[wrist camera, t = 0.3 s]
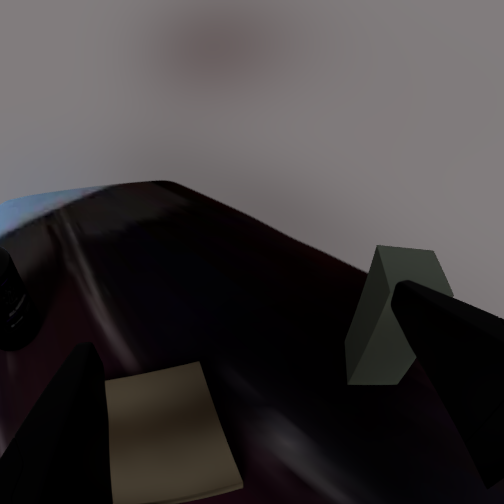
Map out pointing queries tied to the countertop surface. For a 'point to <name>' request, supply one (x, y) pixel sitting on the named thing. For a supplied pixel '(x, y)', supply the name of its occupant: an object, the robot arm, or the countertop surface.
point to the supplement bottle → (15, 307)
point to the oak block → (167, 439)
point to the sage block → (387, 316)
